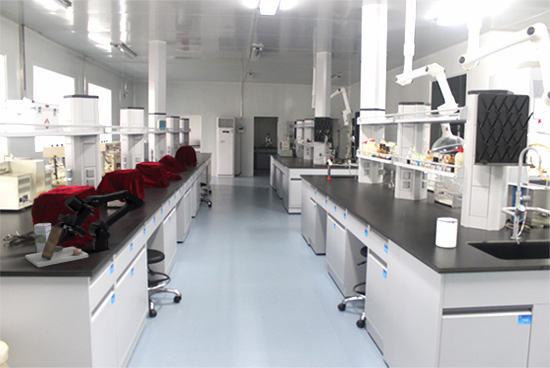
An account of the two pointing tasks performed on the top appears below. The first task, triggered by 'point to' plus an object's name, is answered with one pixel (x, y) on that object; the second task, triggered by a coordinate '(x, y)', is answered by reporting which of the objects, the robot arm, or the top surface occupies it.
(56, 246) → the grey rectangular block
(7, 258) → the top surface
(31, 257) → the control panel
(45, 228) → the syrup box
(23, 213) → the top surface
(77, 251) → the terracotta button
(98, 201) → the robot arm
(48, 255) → the walnut lever
